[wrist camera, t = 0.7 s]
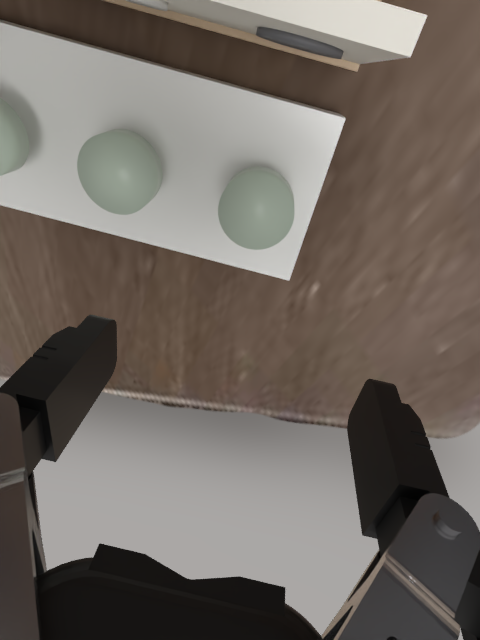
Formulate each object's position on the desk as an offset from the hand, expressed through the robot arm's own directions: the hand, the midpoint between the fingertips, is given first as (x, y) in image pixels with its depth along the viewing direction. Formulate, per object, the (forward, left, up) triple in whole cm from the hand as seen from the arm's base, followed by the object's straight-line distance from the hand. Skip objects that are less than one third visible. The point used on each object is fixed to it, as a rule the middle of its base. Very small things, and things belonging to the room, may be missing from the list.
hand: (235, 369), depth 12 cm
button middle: (-10, 0, -16) cm, 19 cm away
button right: (-1, 0, -16) cm, 16 cm away
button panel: (-10, 0, -21) cm, 23 cm away
